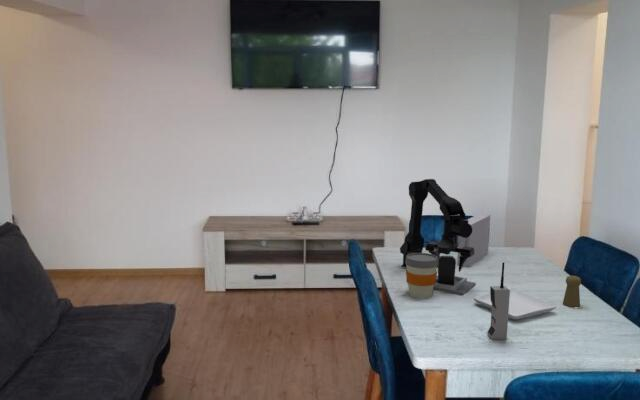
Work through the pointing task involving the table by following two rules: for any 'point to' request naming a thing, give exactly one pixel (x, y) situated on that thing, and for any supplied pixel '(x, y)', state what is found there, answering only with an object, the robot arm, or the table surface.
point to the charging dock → (455, 286)
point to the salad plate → (519, 304)
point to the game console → (476, 239)
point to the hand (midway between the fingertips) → (448, 269)
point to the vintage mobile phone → (499, 310)
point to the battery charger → (446, 269)
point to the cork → (572, 292)
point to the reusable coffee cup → (421, 274)
